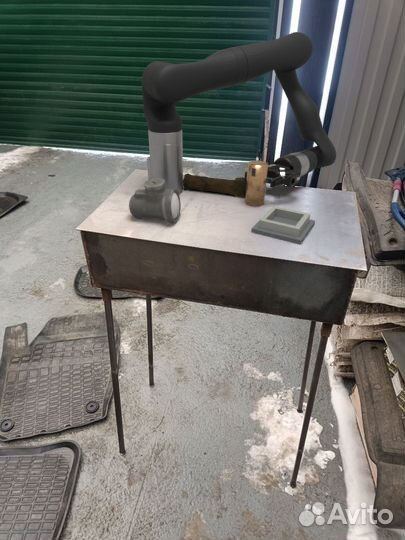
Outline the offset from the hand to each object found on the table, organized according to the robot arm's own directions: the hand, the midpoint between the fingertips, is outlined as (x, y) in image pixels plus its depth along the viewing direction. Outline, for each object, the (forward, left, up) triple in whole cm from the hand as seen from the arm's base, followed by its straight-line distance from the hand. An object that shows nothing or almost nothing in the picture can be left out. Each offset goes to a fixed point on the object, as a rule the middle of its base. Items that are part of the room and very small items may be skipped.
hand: (258, 180), depth 102 cm
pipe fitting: (-18, -23, -7) cm, 30 cm away
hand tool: (-12, +2, -7) cm, 14 cm away
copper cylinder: (0, -1, -6) cm, 6 cm away
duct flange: (+12, -12, -6) cm, 18 cm away
